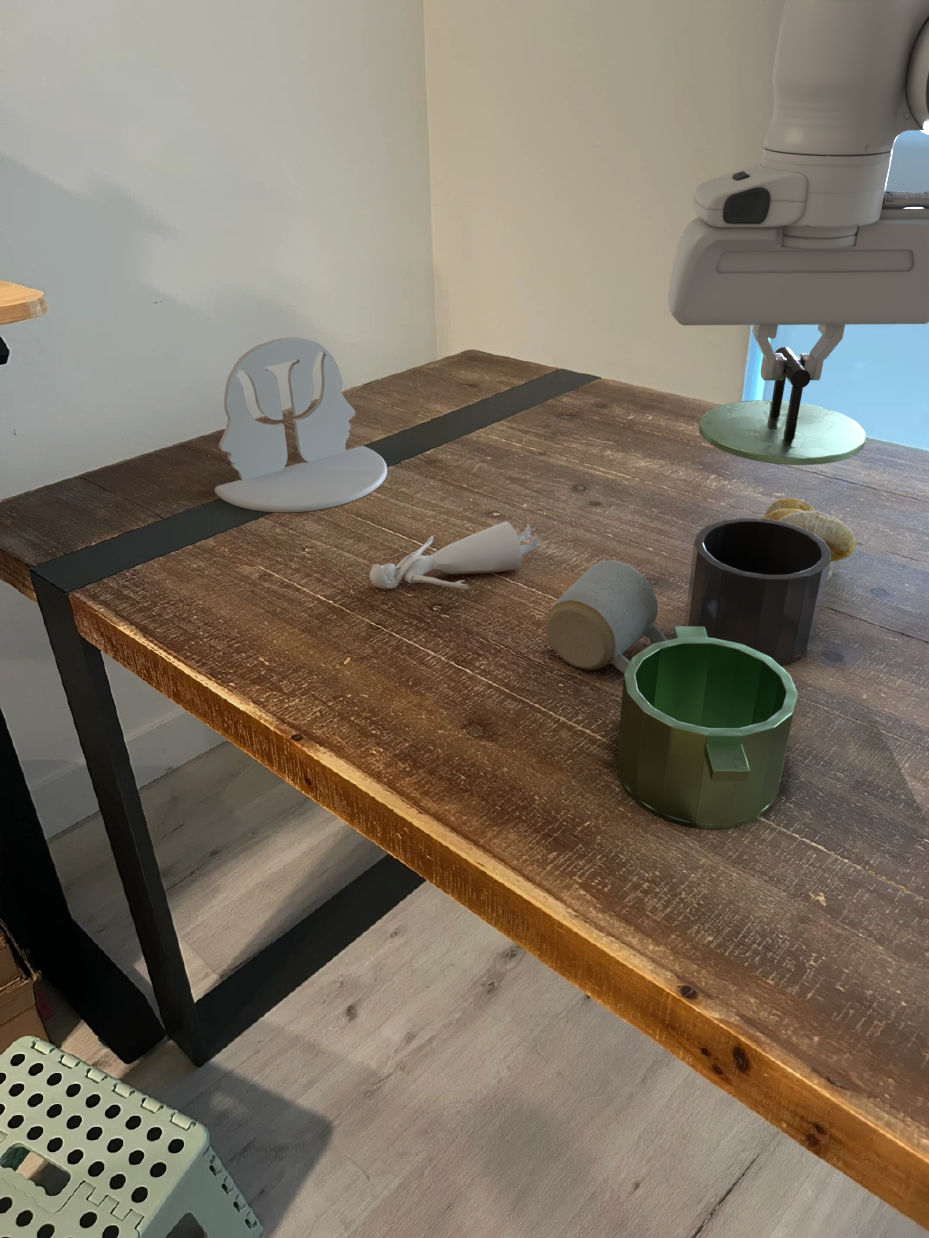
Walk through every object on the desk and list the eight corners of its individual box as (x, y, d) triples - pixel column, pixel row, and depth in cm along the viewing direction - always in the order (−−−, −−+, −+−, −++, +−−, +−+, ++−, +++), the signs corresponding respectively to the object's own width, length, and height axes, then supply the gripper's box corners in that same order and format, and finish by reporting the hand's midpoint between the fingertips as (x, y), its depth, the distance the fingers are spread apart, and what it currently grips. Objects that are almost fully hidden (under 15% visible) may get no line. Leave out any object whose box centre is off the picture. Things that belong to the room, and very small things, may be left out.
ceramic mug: (538, 660, 88) (541, 586, 84) (582, 619, 93) (587, 548, 89) (645, 700, 83) (654, 624, 79) (685, 655, 88) (696, 582, 84)
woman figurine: (556, 543, 97) (382, 587, 93) (557, 582, 99) (387, 626, 95) (512, 497, 106) (352, 535, 102) (514, 533, 109) (358, 571, 105)
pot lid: (837, 413, 87) (852, 334, 83) (885, 473, 75) (906, 385, 72) (686, 412, 87) (695, 334, 83) (712, 472, 76) (724, 385, 72)
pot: (752, 705, 82) (766, 619, 77) (805, 858, 67) (827, 763, 63) (607, 703, 82) (614, 618, 78) (629, 855, 68) (639, 761, 63)
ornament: (365, 448, 131) (355, 323, 122) (420, 480, 122) (414, 346, 113) (212, 491, 120) (189, 356, 111) (260, 529, 111) (239, 386, 102)
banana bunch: (760, 534, 95) (771, 467, 107) (742, 584, 99) (755, 514, 110) (864, 561, 93) (864, 490, 105) (842, 611, 97) (845, 537, 108)
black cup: (795, 600, 96) (811, 517, 91) (828, 668, 86) (847, 579, 81) (676, 600, 96) (685, 517, 92) (695, 667, 87) (707, 579, 82)
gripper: (948, 184, 73) (907, 365, 81) (674, 187, 74) (658, 366, 81) (983, 198, 68) (935, 391, 75) (686, 201, 69) (668, 391, 76)
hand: (789, 378), depth 78 cm, fingers closed on pot lid
